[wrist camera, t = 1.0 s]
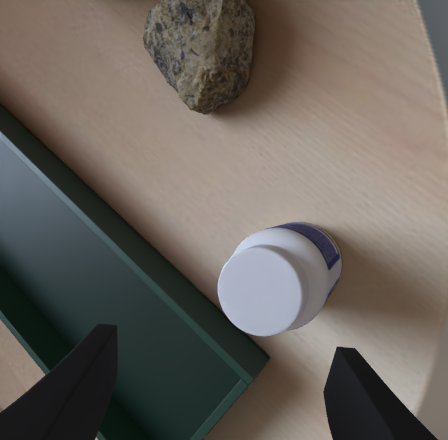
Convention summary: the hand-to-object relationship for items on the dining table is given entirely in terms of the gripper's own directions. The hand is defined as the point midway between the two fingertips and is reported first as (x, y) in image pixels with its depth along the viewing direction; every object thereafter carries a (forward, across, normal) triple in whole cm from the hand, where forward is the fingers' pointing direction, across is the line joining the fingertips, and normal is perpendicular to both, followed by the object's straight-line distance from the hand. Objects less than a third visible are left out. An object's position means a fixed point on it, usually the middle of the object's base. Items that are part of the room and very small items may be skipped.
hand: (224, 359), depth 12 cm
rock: (+20, +2, -9) cm, 22 cm away
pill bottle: (+12, -5, +3) cm, 14 cm away
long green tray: (+26, +23, +4) cm, 35 cm away
